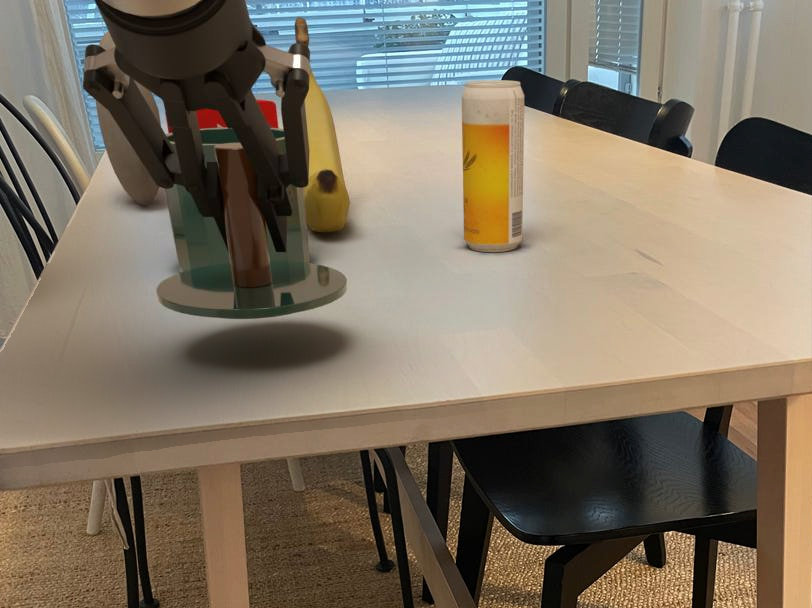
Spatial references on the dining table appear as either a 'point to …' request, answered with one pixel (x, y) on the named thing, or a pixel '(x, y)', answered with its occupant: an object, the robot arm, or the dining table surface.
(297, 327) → the dining table surface
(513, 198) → the beer can
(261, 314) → the jar lid
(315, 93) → the banana
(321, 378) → the dining table surface
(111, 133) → the grey-brown flattened oval
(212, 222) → the storage jar
